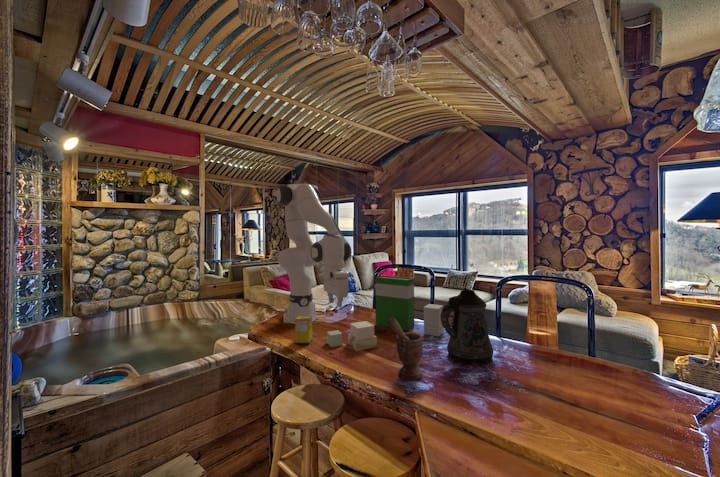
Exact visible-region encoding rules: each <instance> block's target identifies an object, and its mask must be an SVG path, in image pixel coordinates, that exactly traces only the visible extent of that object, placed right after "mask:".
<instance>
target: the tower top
mask: <svg viewBox="0 0 720 477" xmlns="http://www.w3.org/2000/svg"><path fill="white" fill-rule="evenodd" d="M349 324H350V325H349V326H350V327H349V330H350V332H349V333H350V334H351V335H353V336H354V337H355V338H356V339H363V338H369V337H374V335H375V325H374V324H372V323H370V322H369V321H367V320H364V321H357V322H351V323H349Z"/></svg>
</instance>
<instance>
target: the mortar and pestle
mask: <svg viewBox="0 0 720 477" xmlns="http://www.w3.org/2000/svg"><path fill="white" fill-rule="evenodd" d="M388 323H389V325H390V327H389V328H391V330H393V332H394V333H395V334H396V337H395V338H396V351H397V352H396V353H397V354H398V359H399V361H400V362H402V365H403V366H402V367H401V368H400V369H399V371H398V376H399V377H400V378H402V379H403V380H407V381H417V380H419V379H421V377H422V374H423V373H422V371H421V369H420V367H418V364H419V363H420V362H421V359H422V357H423V352H424V346H423V343H424V336H423V335H422V334H420V333H416V332H404V331H403V329H401V327H400V325H399V323H398V321H397V320H396V319H395V318H393V317H392V318H390V319H389V320H388Z"/></svg>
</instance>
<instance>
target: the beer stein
mask: <svg viewBox="0 0 720 477" xmlns="http://www.w3.org/2000/svg"><path fill="white" fill-rule="evenodd" d="M486 308H487V303H486V302H485V300H483V299H482V298H481V297H479V295H477V294H476V292H475V290H471V289H462V290H461V291H460V292H459V294H458V295H453V296H450V297H449V298H448V303H447V304H446V305H443V309H442V312H441V316H440V318H441V323H442V326H443V328H444V332H446V333H447V335H449V340H448V343H447V345H446V349H447V355H448V357H449V358H450V360H452V361H454V362H457V363H459V364H462V365H467V366H486V365H487V364H488V365H489V364H490V363H491V362H492V361H493V360H492V359H493V355H494V348H493V345H492V343H491V340H490V335H489V330H488V326H487V325H488V324H487V318H486V313H485V311H486ZM452 312H453V313H452ZM451 314H452V320H451V325H450V322H449V318H450V315H451Z"/></svg>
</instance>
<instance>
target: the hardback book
mask: <svg viewBox="0 0 720 477" xmlns="http://www.w3.org/2000/svg"><path fill="white" fill-rule="evenodd" d="M392 317H393V318H395V319H396V320H397V321H398V323H399V325H400V327H401V329H402V330H406V331H409V330H411V329H413V327H415V278H414V277H407V276H405V277H404V276H394V275H384V274H383V275H381V276H376V277H375V325H376V326H382V327H388V328H391V327H390V325H389V323H388V320H389V319H390V318H392Z"/></svg>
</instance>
